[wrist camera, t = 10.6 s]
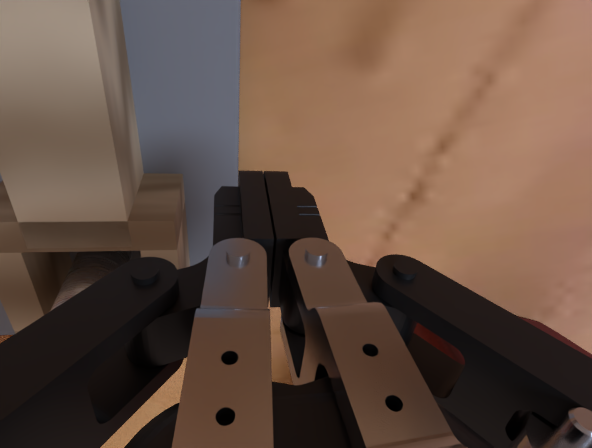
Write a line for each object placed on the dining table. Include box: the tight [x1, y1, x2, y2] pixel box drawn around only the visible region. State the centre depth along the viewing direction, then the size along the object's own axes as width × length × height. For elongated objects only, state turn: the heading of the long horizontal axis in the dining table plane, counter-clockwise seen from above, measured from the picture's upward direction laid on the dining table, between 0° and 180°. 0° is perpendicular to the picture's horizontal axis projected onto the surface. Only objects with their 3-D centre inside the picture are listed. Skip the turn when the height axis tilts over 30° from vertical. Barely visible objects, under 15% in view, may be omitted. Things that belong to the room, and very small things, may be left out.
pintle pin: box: [50, 251, 133, 311], centre depth 19 cm, size 2×2×8 cm
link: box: [0, 0, 190, 334], centre depth 18 cm, size 16×8×4 cm, turn 175°
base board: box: [0, 0, 241, 335], centre depth 18 cm, size 17×28×1 cm, turn 175°
